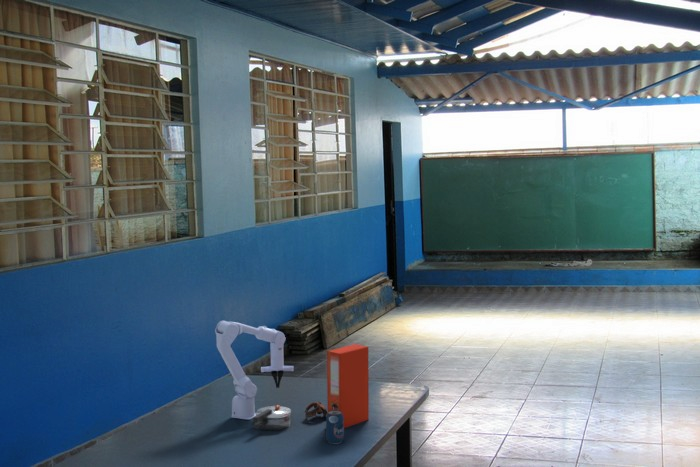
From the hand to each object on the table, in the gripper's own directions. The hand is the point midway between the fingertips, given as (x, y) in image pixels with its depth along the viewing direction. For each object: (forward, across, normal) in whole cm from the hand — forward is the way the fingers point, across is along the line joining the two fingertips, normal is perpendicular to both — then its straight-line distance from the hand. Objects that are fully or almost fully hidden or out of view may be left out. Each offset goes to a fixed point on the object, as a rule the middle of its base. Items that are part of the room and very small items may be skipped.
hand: (277, 387), depth 375 cm
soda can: (+11, +22, -46) cm, 52 cm away
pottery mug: (+11, +17, -14) cm, 25 cm away
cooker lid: (+5, -4, -25) cm, 26 cm away
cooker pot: (+10, -3, -24) cm, 26 cm away
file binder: (+11, +29, -23) cm, 39 cm away
